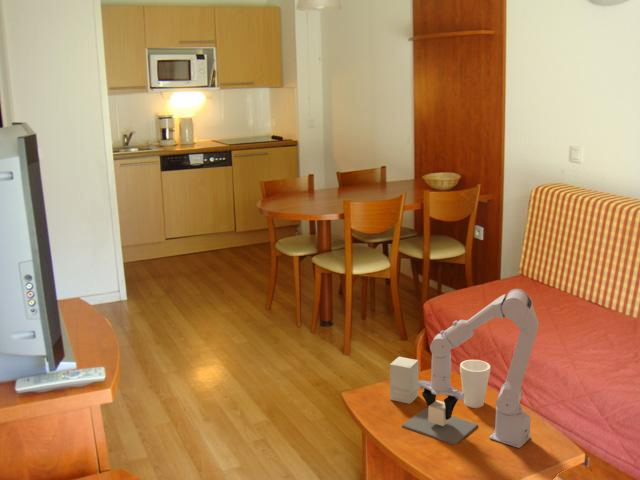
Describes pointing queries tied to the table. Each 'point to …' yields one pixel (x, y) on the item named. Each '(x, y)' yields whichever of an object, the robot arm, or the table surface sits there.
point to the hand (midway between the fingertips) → (440, 415)
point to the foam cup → (474, 382)
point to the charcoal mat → (440, 427)
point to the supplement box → (404, 380)
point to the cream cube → (437, 413)
